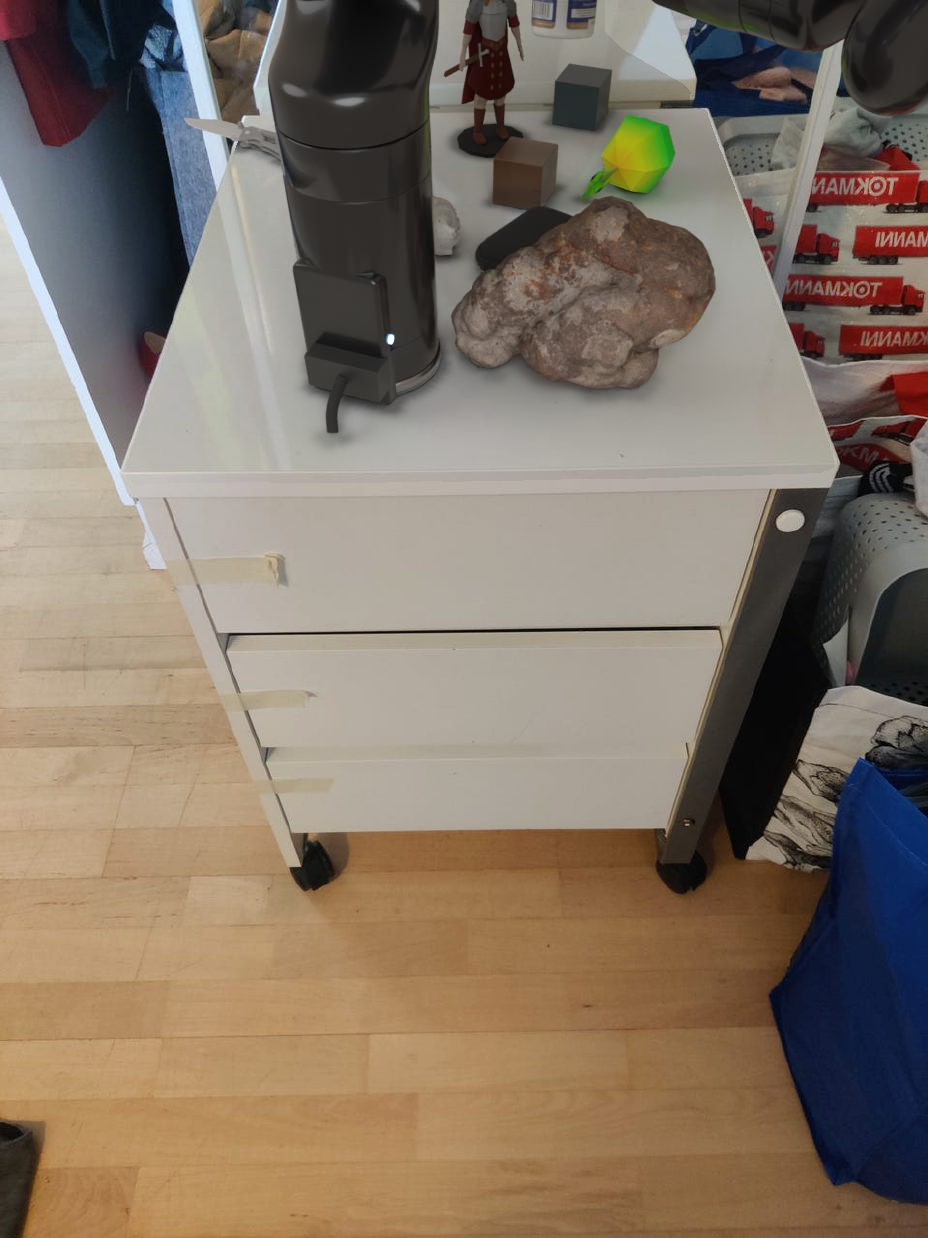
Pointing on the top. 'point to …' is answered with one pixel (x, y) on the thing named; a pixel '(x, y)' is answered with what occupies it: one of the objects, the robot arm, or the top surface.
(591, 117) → the slate block
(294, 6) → the robot arm
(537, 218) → the carrying case
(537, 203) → the walnut block
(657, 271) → the rock
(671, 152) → the apple
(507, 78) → the figurine
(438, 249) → the seashell
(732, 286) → the top surface
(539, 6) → the pill bottle
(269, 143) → the knife
